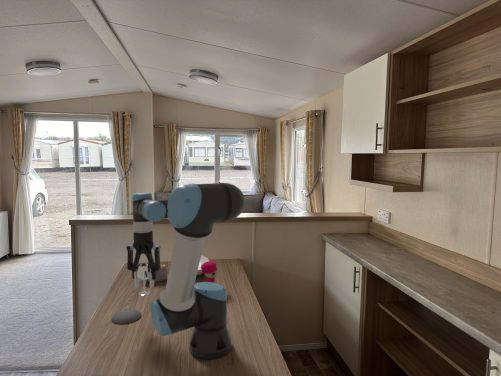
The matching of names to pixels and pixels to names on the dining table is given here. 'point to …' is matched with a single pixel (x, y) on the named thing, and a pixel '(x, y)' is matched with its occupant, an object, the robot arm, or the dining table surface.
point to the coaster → (126, 316)
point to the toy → (209, 270)
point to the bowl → (202, 260)
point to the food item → (159, 274)
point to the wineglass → (143, 275)
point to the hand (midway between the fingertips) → (144, 286)
